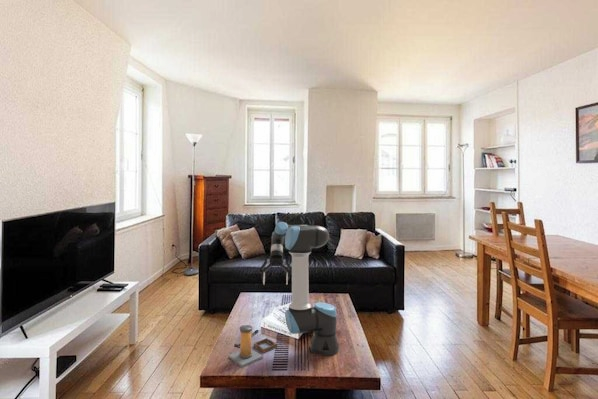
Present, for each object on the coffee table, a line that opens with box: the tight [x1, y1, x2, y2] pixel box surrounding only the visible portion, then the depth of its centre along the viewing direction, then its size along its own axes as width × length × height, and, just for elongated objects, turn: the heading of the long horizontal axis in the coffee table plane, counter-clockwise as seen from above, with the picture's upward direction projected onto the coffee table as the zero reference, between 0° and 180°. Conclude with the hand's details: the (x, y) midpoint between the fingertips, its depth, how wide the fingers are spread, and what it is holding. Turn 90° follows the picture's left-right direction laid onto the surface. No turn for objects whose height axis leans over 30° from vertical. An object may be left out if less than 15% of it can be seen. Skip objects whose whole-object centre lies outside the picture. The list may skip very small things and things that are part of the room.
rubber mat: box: [228, 348, 264, 368], centre depth 160 cm, size 12×12×1 cm
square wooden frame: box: [253, 337, 278, 353], centre depth 171 cm, size 9×9×2 cm
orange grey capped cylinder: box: [239, 324, 253, 359], centre depth 160 cm, size 6×6×14 cm
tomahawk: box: [233, 329, 259, 349], centre depth 179 cm, size 21×7×1 cm, turn 153°
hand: (275, 283), depth 191 cm, fingers open, 13 cm apart
